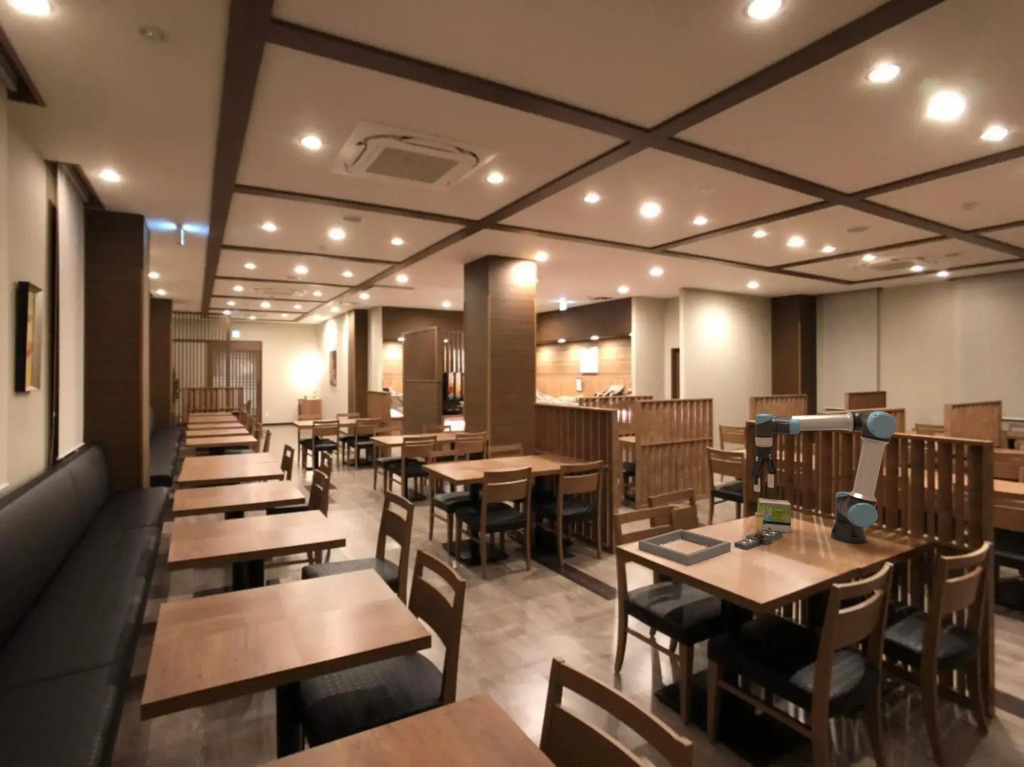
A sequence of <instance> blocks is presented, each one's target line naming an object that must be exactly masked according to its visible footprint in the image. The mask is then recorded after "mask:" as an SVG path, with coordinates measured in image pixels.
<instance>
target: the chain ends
mask: <svg viewBox="0 0 1024 767" xmlns="http://www.w3.org/2000/svg"><path fill="white" fill-rule="evenodd" d="M783 533H784V532H779V531H772V530H766V531H763V538H762V539H761V538H757V537H755V533H754V532H753V533H751V534H750V533H749V534H747V535H745V538H744V539H741V540H737V541H735V542H734V543H733V544H734V546H735V547H734V546H733V547H734V548H737V547H738V548H737V549H742V550H744V549H745V550H746V551H748V550H751V549H754V548H755V547H759V546H767V545H770V544H771V545H772V544H773V541H775V540H778V539H782V538H783V535H784V534H783Z"/></svg>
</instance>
